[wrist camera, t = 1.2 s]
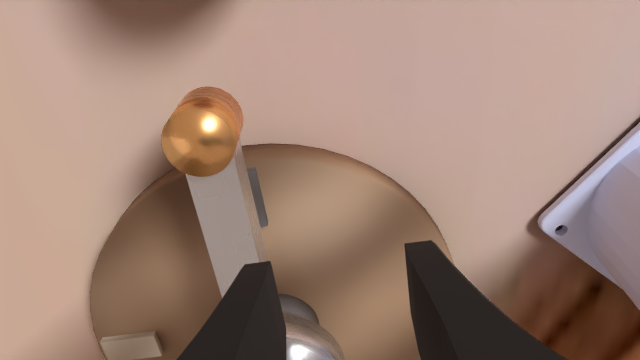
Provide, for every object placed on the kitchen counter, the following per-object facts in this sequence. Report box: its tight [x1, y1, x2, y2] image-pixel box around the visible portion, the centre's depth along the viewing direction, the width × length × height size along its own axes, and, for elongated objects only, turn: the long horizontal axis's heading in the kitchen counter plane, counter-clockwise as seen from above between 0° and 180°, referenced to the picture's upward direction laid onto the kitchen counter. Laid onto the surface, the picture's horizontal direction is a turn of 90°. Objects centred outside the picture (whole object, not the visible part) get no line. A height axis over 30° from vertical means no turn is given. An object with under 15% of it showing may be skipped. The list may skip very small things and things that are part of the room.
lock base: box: [90, 144, 455, 360], centre depth 23 cm, size 16×16×4 cm
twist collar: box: [161, 87, 345, 360], centre depth 18 cm, size 14×6×2 cm, turn 8°
